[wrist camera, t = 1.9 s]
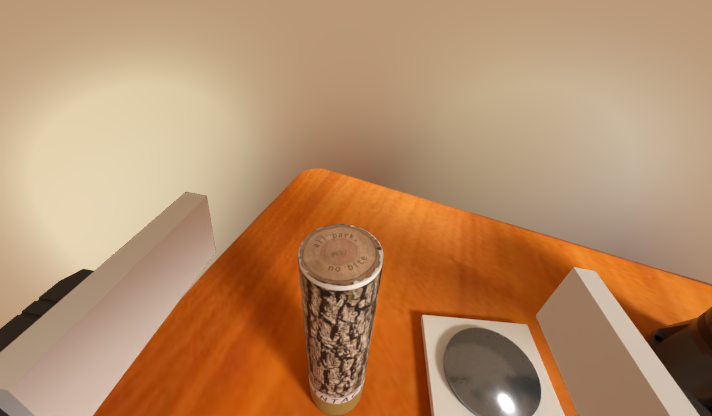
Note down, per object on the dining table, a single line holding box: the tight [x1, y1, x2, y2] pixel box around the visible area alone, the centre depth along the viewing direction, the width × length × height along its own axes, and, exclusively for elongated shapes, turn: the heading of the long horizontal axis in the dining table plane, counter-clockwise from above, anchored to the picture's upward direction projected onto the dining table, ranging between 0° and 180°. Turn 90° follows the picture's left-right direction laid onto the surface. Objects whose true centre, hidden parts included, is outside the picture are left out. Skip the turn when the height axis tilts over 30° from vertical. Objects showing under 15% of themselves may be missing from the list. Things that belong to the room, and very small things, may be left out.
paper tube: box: [298, 224, 383, 415], centre depth 32 cm, size 7×7×25 cm
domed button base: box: [421, 315, 565, 416], centre depth 41 cm, size 16×16×2 cm
